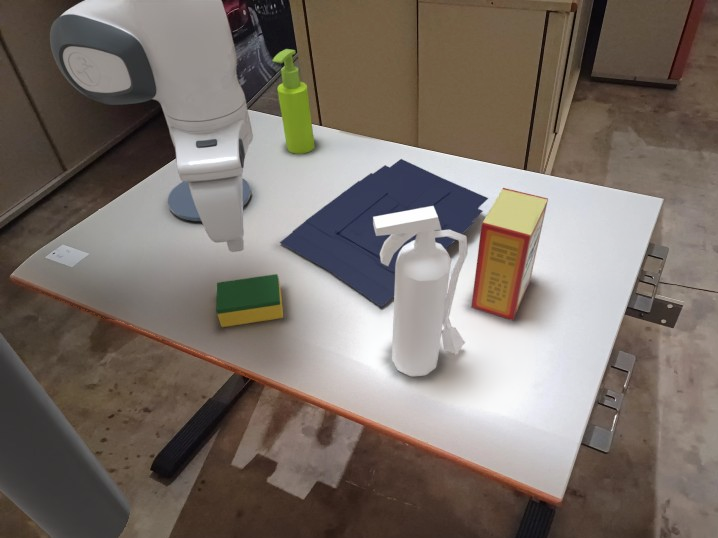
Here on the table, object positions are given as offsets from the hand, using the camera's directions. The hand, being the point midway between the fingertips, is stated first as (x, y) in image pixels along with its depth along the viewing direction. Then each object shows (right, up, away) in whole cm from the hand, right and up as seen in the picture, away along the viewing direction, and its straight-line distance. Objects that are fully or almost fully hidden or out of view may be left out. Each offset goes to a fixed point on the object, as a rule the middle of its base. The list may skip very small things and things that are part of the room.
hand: (237, 226), depth 72 cm
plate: (-14, +9, +32) cm, 36 cm away
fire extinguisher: (+25, -18, +4) cm, 31 cm away
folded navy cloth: (+19, +2, +25) cm, 32 cm away
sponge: (-1, -11, +11) cm, 16 cm away
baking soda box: (+37, -9, +14) cm, 40 cm away
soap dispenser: (0, +23, +46) cm, 51 cm away
